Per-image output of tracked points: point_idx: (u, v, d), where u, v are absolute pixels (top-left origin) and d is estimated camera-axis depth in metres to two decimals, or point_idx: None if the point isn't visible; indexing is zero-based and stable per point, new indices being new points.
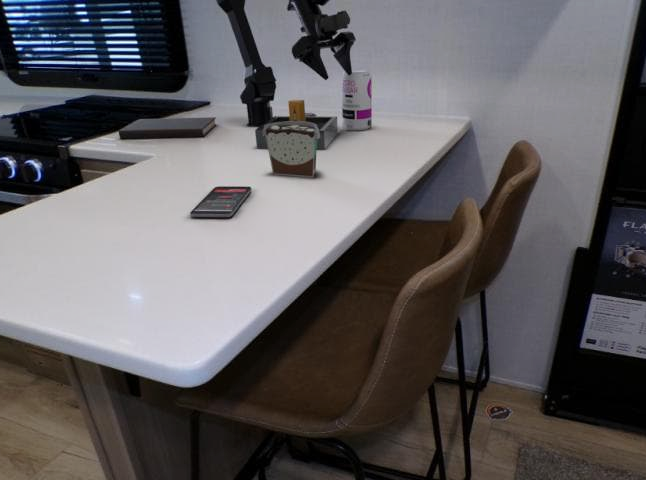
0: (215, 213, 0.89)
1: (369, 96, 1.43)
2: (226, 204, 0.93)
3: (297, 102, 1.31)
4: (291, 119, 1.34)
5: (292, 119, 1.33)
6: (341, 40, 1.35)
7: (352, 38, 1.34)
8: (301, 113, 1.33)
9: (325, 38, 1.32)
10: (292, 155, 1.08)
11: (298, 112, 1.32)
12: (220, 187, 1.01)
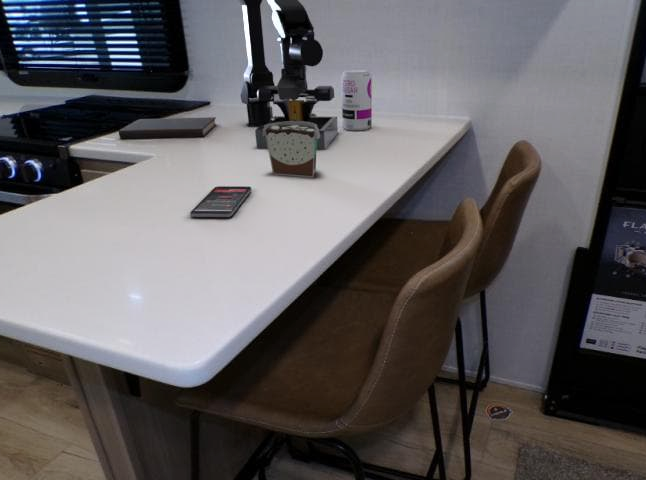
0: (215, 213, 0.89)
1: (369, 96, 1.43)
2: (226, 204, 0.93)
3: (297, 102, 1.31)
4: (291, 119, 1.34)
5: (292, 119, 1.33)
6: None
7: (323, 99, 1.28)
8: (301, 113, 1.33)
9: None
10: (292, 155, 1.08)
11: (298, 112, 1.32)
12: (220, 187, 1.01)
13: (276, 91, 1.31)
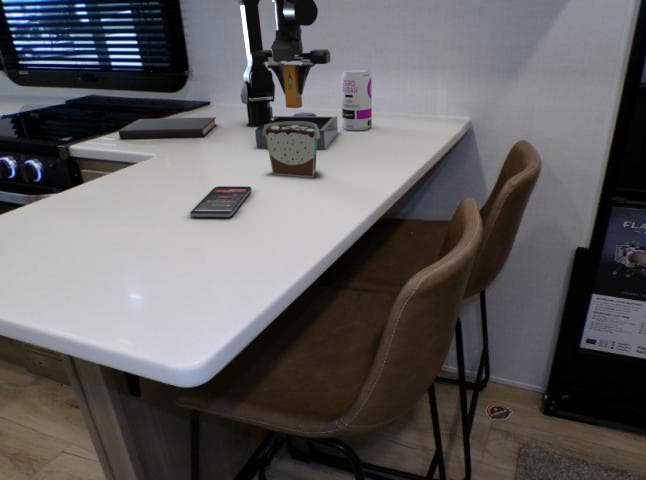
0: (215, 213, 0.89)
1: (369, 96, 1.43)
2: (226, 204, 0.93)
3: (292, 66, 1.27)
4: (286, 84, 1.29)
5: (287, 84, 1.29)
6: None
7: (318, 62, 1.24)
8: (296, 77, 1.28)
9: None
10: (292, 155, 1.08)
11: (293, 76, 1.28)
12: (220, 187, 1.01)
13: (270, 55, 1.27)
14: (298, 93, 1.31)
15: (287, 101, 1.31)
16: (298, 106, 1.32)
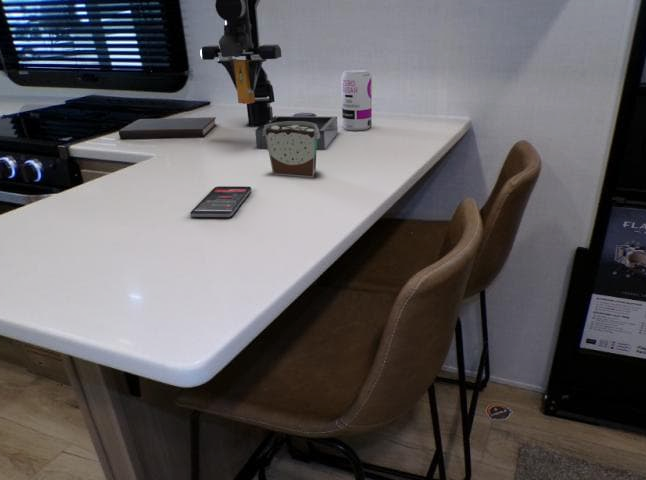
0: (215, 213, 0.89)
1: (369, 96, 1.43)
2: (226, 204, 0.93)
3: (242, 61, 1.26)
4: (237, 79, 1.29)
5: (238, 79, 1.29)
6: None
7: (268, 57, 1.24)
8: (247, 73, 1.28)
9: None
10: (292, 155, 1.08)
11: (244, 72, 1.27)
12: (220, 187, 1.01)
13: None
14: (250, 88, 1.30)
15: (239, 96, 1.31)
16: (250, 101, 1.31)
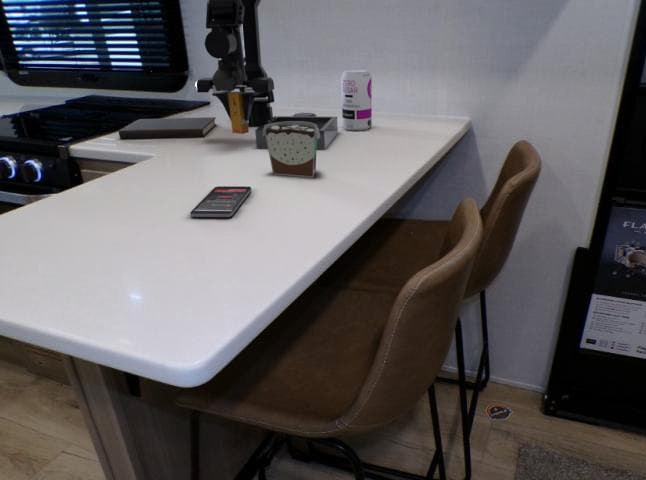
0: (215, 213, 0.89)
1: (369, 96, 1.43)
2: (226, 204, 0.93)
3: (236, 94, 1.30)
4: (231, 111, 1.33)
5: (232, 111, 1.33)
6: None
7: (260, 91, 1.28)
8: (241, 104, 1.32)
9: None
10: (292, 155, 1.08)
11: (237, 104, 1.31)
12: (220, 187, 1.01)
13: None
14: (243, 119, 1.34)
15: (233, 127, 1.35)
16: (244, 132, 1.35)
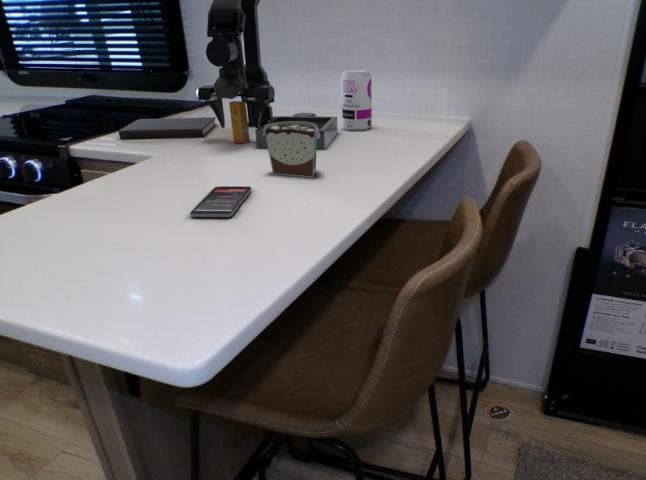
0: (215, 213, 0.89)
1: (369, 96, 1.43)
2: (226, 204, 0.93)
3: (237, 103, 1.31)
4: (232, 120, 1.34)
5: (233, 120, 1.34)
6: None
7: (261, 98, 1.28)
8: (242, 114, 1.33)
9: None
10: (292, 155, 1.08)
11: (239, 113, 1.32)
12: (220, 187, 1.01)
13: None
14: (245, 128, 1.35)
15: (234, 136, 1.36)
16: (245, 141, 1.36)
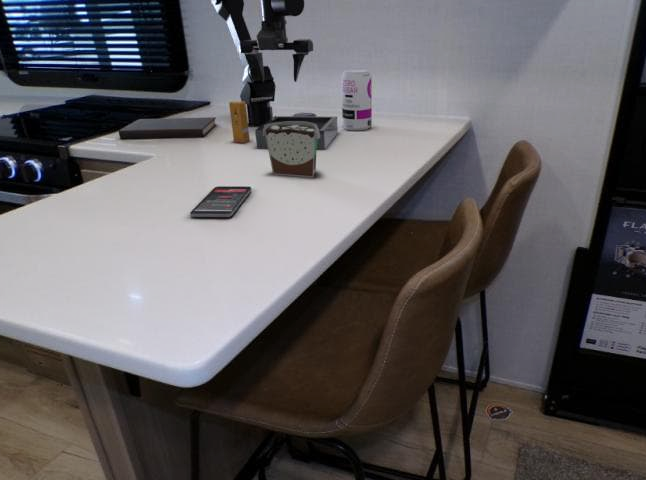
0: (215, 213, 0.89)
1: (369, 96, 1.43)
2: (226, 204, 0.93)
3: (237, 103, 1.31)
4: (232, 120, 1.34)
5: (233, 120, 1.34)
6: None
7: (301, 51, 1.34)
8: (242, 114, 1.33)
9: None
10: (292, 155, 1.08)
11: (239, 113, 1.32)
12: (220, 187, 1.01)
13: (257, 44, 1.37)
14: (245, 128, 1.35)
15: (234, 136, 1.36)
16: (245, 141, 1.36)
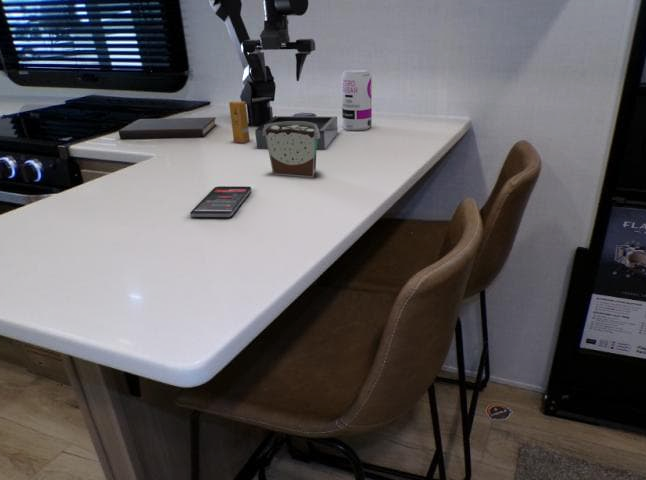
0: (215, 213, 0.89)
1: (369, 96, 1.43)
2: (226, 204, 0.93)
3: (237, 103, 1.31)
4: (232, 120, 1.34)
5: (233, 120, 1.34)
6: None
7: (304, 50, 1.34)
8: (242, 114, 1.33)
9: None
10: (292, 155, 1.08)
11: (239, 113, 1.32)
12: (220, 187, 1.01)
13: (260, 44, 1.38)
14: (245, 128, 1.35)
15: (234, 136, 1.36)
16: (245, 141, 1.36)
